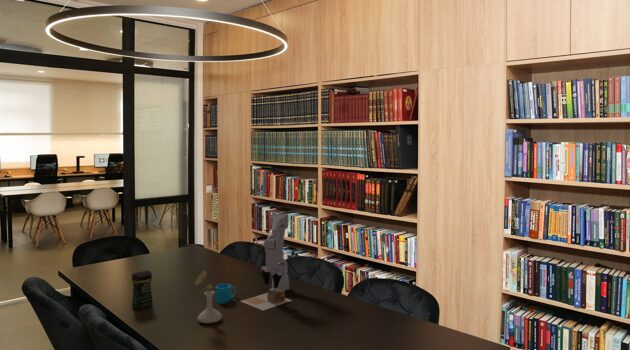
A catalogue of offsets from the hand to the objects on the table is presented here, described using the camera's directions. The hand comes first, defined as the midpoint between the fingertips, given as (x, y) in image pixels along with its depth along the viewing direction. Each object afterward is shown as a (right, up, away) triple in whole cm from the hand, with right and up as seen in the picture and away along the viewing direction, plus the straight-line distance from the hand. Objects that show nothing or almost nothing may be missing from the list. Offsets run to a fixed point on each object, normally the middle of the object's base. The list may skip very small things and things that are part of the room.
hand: (271, 286), depth 244 cm
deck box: (+2, -8, +1) cm, 8 cm away
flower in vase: (-28, -11, -26) cm, 39 cm away
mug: (-24, -9, +3) cm, 26 cm away
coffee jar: (-66, -9, -7) cm, 67 cm away
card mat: (-3, -9, 0) cm, 9 cm away
